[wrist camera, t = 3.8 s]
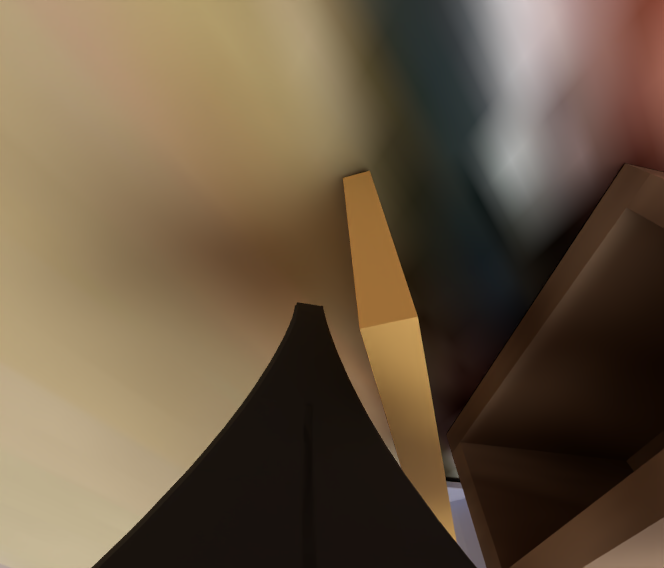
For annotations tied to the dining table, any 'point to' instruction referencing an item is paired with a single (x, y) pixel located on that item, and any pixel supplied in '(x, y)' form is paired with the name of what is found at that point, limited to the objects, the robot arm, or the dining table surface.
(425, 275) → the dining table surface
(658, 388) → the cabinet
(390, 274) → the cabinet door
